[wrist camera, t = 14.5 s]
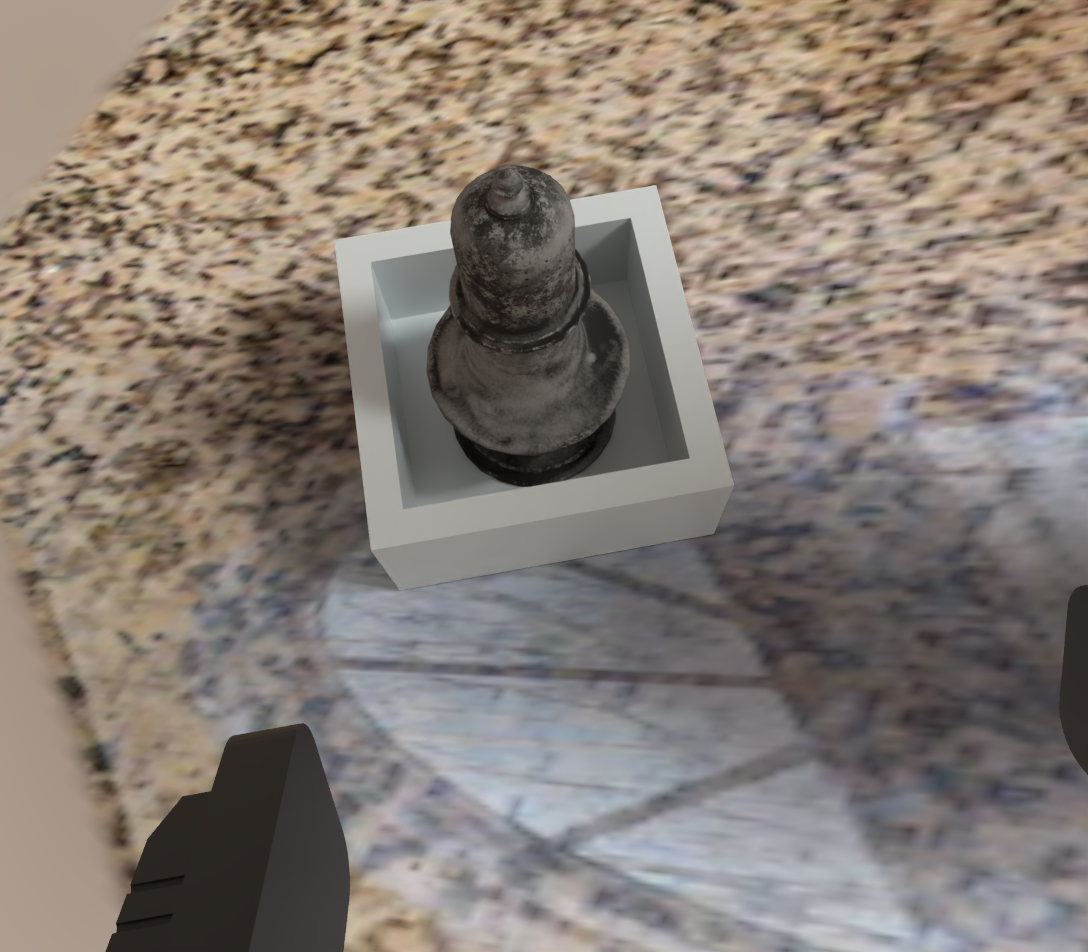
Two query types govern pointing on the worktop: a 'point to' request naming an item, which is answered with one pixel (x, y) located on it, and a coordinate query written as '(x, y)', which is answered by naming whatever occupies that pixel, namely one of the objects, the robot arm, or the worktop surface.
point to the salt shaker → (525, 335)
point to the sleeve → (550, 509)
